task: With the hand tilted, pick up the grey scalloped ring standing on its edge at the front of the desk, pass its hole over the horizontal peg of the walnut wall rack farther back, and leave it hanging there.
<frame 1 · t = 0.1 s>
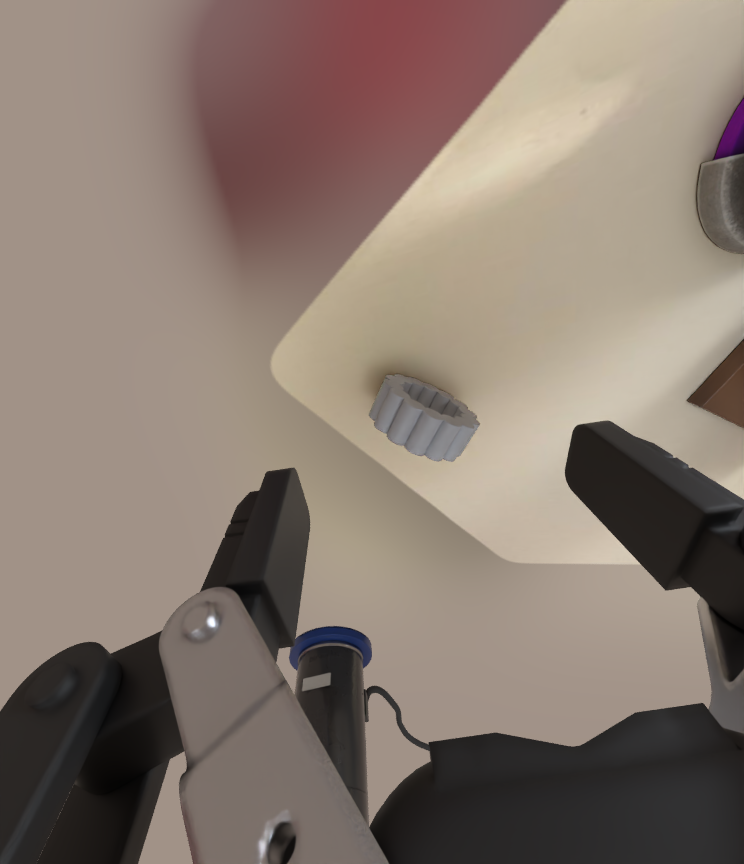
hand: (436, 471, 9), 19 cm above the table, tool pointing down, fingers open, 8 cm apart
grey scalloped ring: (414, 395, 29), on the table
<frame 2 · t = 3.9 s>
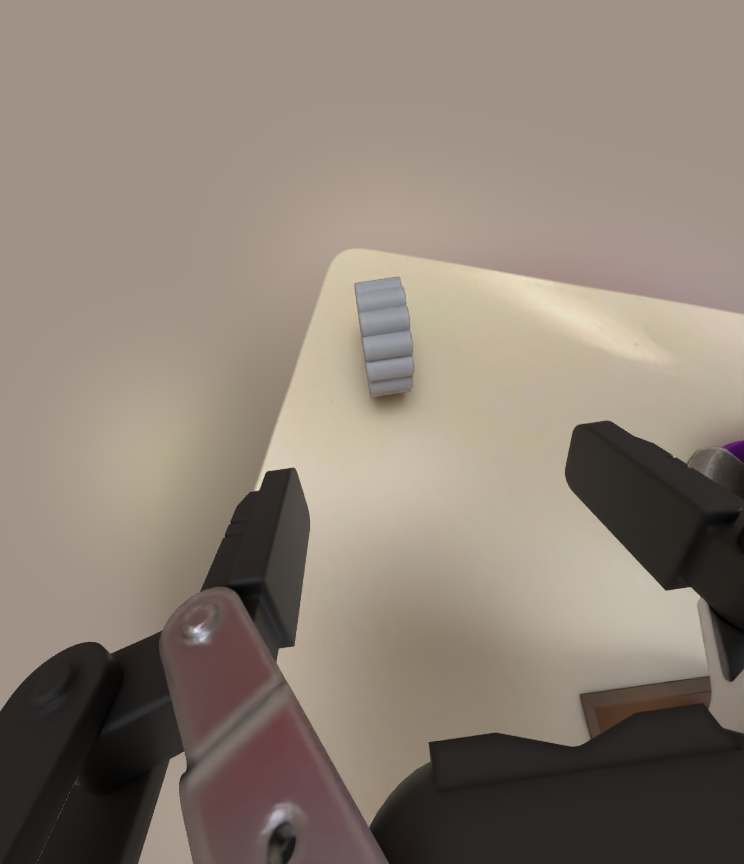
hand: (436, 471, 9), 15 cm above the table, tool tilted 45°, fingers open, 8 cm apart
rack: (719, 821, 19), on the table
grey scalloped ring: (383, 364, 27), on the table
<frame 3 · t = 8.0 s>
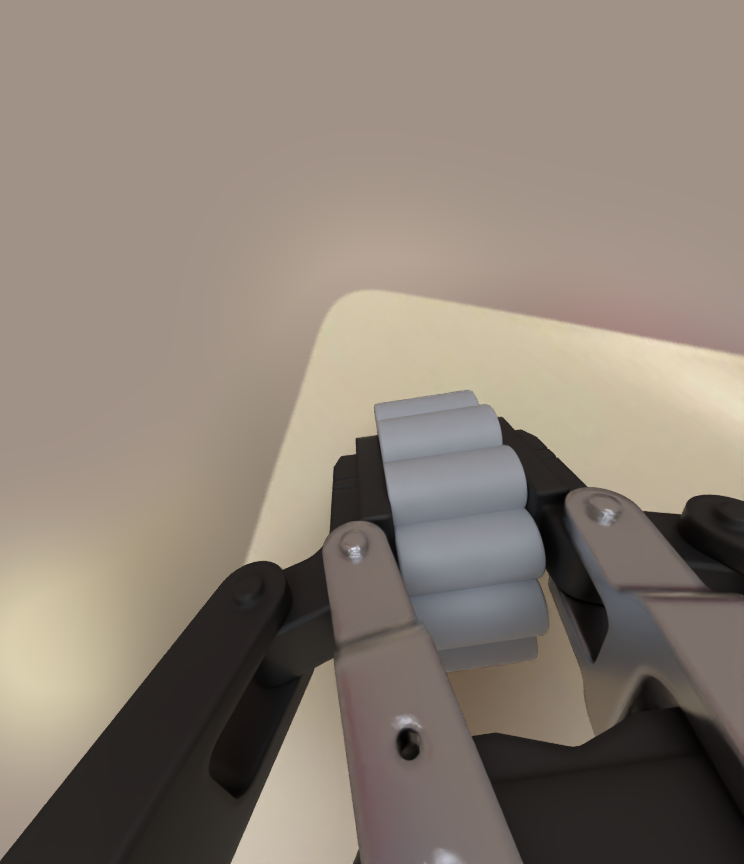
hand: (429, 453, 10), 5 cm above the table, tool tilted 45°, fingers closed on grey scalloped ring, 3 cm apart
grey scalloped ring: (424, 519, 14), on the table, touching gripper
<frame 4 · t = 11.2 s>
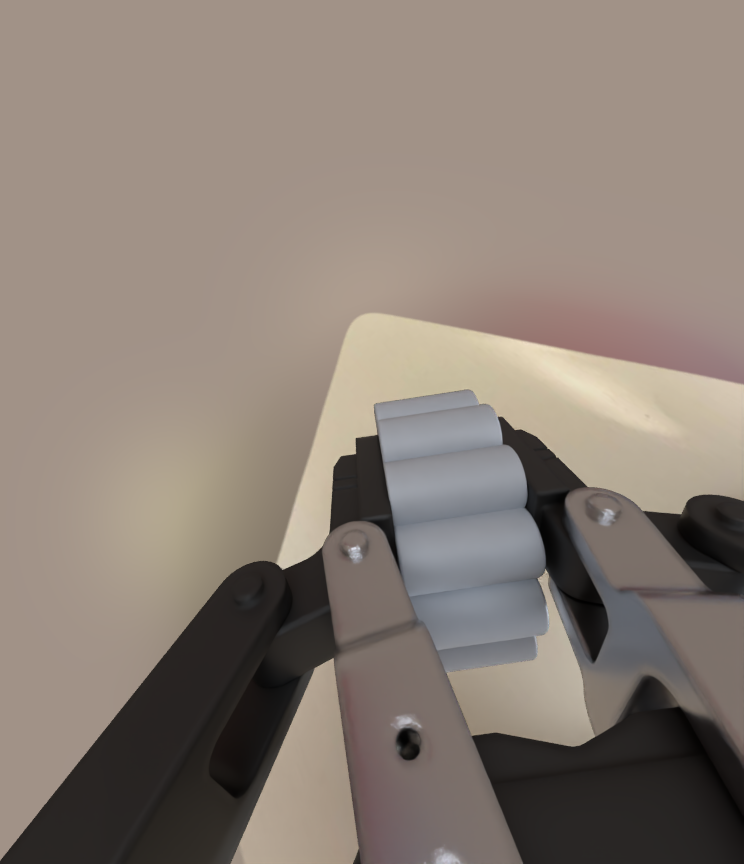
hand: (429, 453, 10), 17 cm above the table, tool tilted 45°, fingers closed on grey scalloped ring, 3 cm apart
grey scalloped ring: (423, 518, 14), point 12 cm above the table, touching gripper
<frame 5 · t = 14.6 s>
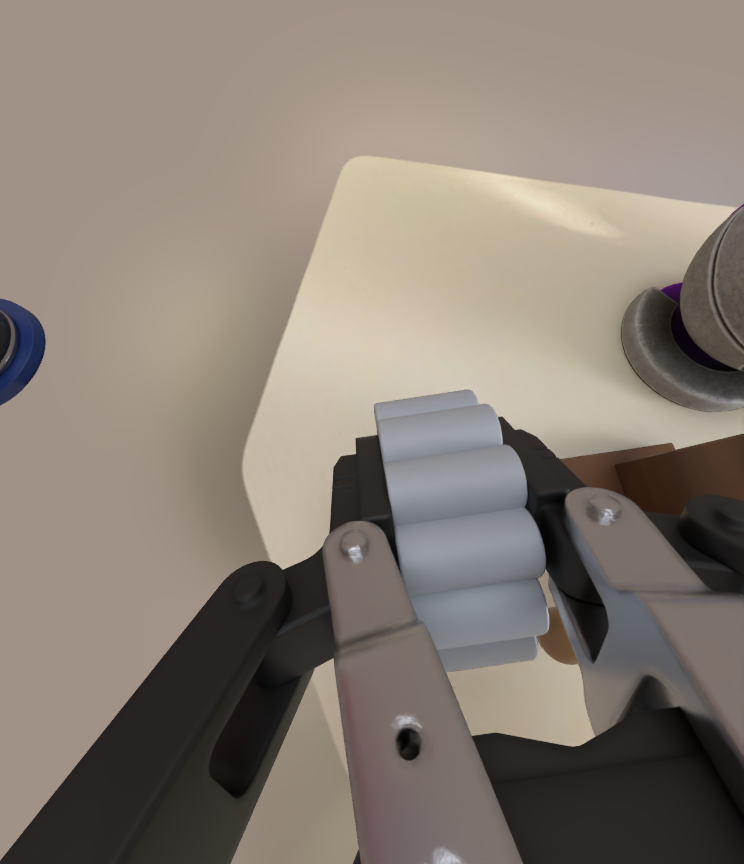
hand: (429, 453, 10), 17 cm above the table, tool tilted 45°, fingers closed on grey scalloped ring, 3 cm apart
rack: (639, 541, 25), on the table
webcam: (694, 346, 29), on the table
grey scalloped ring: (423, 518, 14), point 12 cm above the table, touching gripper
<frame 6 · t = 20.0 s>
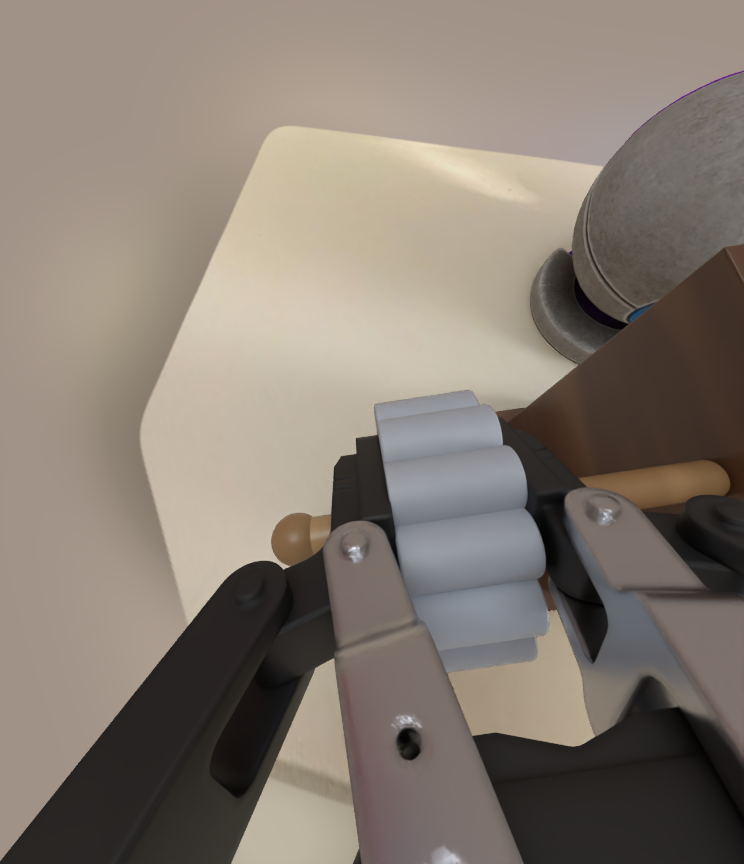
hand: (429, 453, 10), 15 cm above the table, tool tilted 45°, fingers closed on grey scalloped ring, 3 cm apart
rack: (532, 501, 25), on the table
webcam: (604, 308, 29), on the table
grey scalloped ring: (423, 519, 14), point 11 cm above the table, touching gripper
when the fingers open (16 cm above the table, at t = 21.2 s): grey scalloped ring drops 2 cm, resting on rack.
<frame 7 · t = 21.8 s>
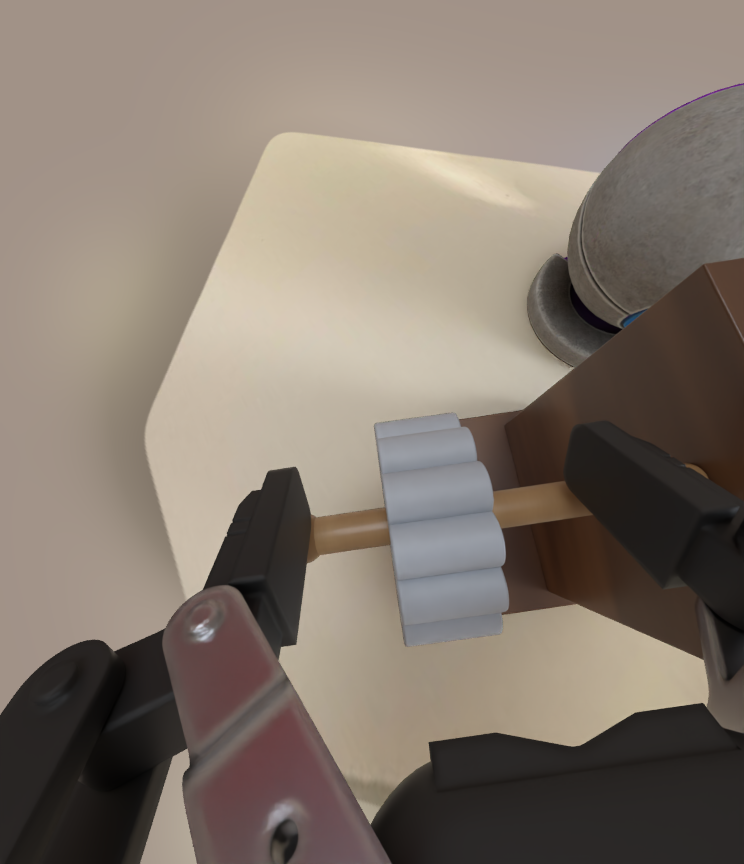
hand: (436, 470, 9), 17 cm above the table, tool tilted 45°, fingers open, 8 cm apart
rack: (529, 501, 25), on the table
webcam: (599, 313, 29), on the table
grey scalloped ring: (416, 520, 16), point 9 cm above the table, touching rack
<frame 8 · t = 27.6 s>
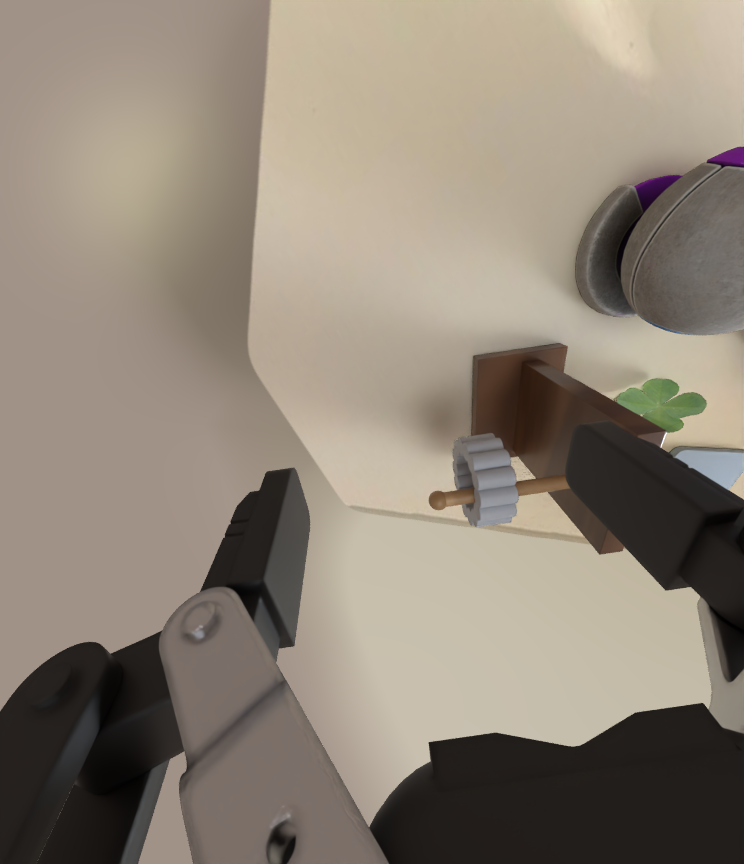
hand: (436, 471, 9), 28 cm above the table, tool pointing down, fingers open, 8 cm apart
rack: (519, 403, 40), on the table
webcam: (637, 250, 33), on the table
grey scalloped ring: (466, 455, 33), point 9 cm above the table, touching rack
shower valve: (682, 488, 50), on the table
seedling: (635, 403, 42), on the table
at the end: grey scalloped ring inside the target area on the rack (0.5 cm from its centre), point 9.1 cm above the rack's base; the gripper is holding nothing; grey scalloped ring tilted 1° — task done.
